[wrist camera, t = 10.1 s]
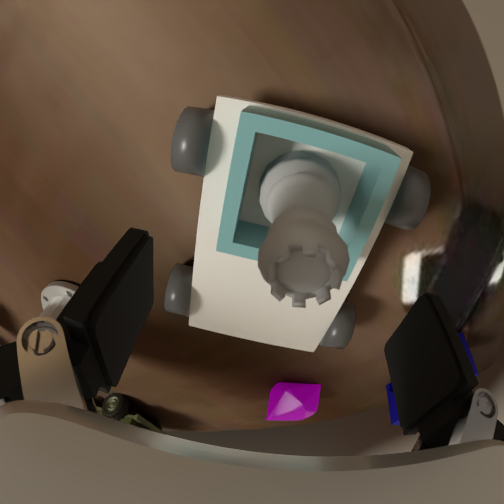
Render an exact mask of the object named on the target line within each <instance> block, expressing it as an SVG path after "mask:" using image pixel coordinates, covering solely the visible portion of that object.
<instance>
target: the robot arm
mask: <svg viewBox="0 0 504 504" xmlns="http://www.w3.org/2000/svg"><path fill="white" fill-rule="evenodd" d="M153 300H154V290H153V237H150V236H149V234H148V232H147V231H144V230H140V229H136V228H130V229H129V230H128V231H127V232H126V233H125V234H124V236H123V237H122V238H121V239H120V240H119V242H118V243H117V244H116V245H115V247H114V248H113V249H112V250H111V252H110V253H109V254H108V255H107V257H106V258H105V259H104V260H103V262H98V263H97V264H96V265H95V266H94V268H93V269H92V270H91V272H90V273H89V274H88V276H87V277H86V278H85V280H84V281H83V282H82V284H81V285H80V286H76V285H74V284H71V283H68V282H64V281H54V282H51V283H49V284H48V285H47V286H46V287H45V289H44V290H43V291H42V294H41V302H42V306H43V309H44V311H43V312H42V313H41V315H40V316H39V317H36V318H34V319H31V320H29V321H28V322H27V323H25V324H24V325H23V326H22V328H21V329H20V331H19V333H18V335H17V341H16V342H13V343H10V344H6V345H3V346H0V504H504V425H503V424H502V423H501V422H500V421H499V420H497V415H498V406H497V402H496V400H495V398H494V396H493V395H492V394H491V393H490V392H489V391H488V390H486V389H483V388H480V389H477V390H476V391H475V392H474V393H473V392H472V389H473V388H474V387H475V386H476V385H478V381H477V378H476V375H475V373H474V370H473V368H472V365H471V363H470V360H469V358H468V355H467V353H466V351H465V348H464V346H463V344H462V341H461V339H460V337H459V335H458V332H457V330H456V328H455V326H454V324H453V322H452V320H451V318H450V316H449V313H448V311H447V309H446V307H445V305H444V304H443V302H442V300H441V298H440V296H438V295H435V294H430V293H425V294H423V295H422V296H420V297H419V298H418V299H417V301H416V302H415V304H414V305H413V307H412V308H411V309H410V311H409V312H408V314H407V315H406V317H405V318H404V319H403V321H402V322H401V324H400V325H399V326H398V328H397V329H396V331H395V332H394V333H393V335H392V336H391V337H390V339H389V340H388V341H387V343H386V344H385V348H384V352H385V356H386V360H387V364H388V369H389V373H390V377H391V382H392V387H393V391H394V396H395V401H396V406H397V412H398V417H399V423H400V426H401V427H402V428H403V433H404V435H411V434H416V433H417V432H419V433H420V436H419V437H418V440H417V441H416V443H415V445H414V447H413V449H412V451H411V452H404V453H396V454H386V455H372V456H353V457H352V456H351V457H315V456H314V457H311V456H293V455H279V454H269V453H259V452H251V451H243V450H237V449H230V448H224V447H219V446H213V445H208V444H203V443H198V442H194V441H189V440H185V439H181V438H177V437H173V436H168V435H165V434H161V433H157V432H154V431H150V430H147V429H143V428H140V427H137V426H133V425H130V424H127V423H124V422H121V421H118V420H115V419H112V418H108V417H105V416H102V415H99V413H98V410H97V407H96V405H95V402H94V399H93V398H95V397H96V395H97V393H98V390H100V391H102V392H105V393H109V391H110V389H111V386H113V387H116V386H117V384H118V382H119V380H120V378H121V375H122V373H123V370H124V368H125V366H126V363H127V361H128V359H129V356H130V354H131V352H132V350H133V347H134V345H135V343H136V341H137V338H138V336H139V334H140V332H141V330H142V327H143V325H144V323H145V321H146V319H147V317H148V314H149V312H150V310H151V308H152V305H153Z"/></svg>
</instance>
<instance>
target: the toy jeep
mask: <svg viewBox="0 0 504 504" xmlns="http://www.w3.org/2000/svg"><path fill="white" fill-rule="evenodd" d="M102 405H103V407H97V410H98V413H99V415H102V416H105V417H108V418H112V419H115V420H118V421H121V422H124V423H127V424H130V425H133V426H137V427H140V428H143V429H147V430H150V431H154V432H157V433H161V434H165V435H166V433H164V432H163V431H162V430H161V429H162V427H161V425H160V424H159V423H158V422H157V421H156V420H154V419H152V418H151V419H150V418H148V419H147V418H145V419H144V418H143V417H141V416H140V415H139V414H136V415H128V414H126V412H127V413H128V409H129V406H128V405H129V403H128V400H127V399H126V397H124V396H123V395H121V394H120V393H118V394H117V393H112V395H111V394H110V395H109V397H106V400H104V403H102Z"/></svg>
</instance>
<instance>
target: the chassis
mask: <svg viewBox="0 0 504 504" xmlns="http://www.w3.org/2000/svg"><path fill="white" fill-rule="evenodd" d="M294 151H300V152H309V153H314V154H315V155H317V156H319V157H321V158H323V159H324V160H326V161H328V163H329V164H330V165H331V167H332V168H333V169H334V170H335V172H336V173H337V176H338V180H339V184H340V190H341V194H342V195H341V200H340V206H339V210H338V212H337V214H336V215H335V217H334V218H333V220H332V222H333V223H334V224H335V226H336V229H337V233H338V235H339V236H340V237H341V238H342V240H343V241H344V242H345V243H346V245H347V248H348V253H349V258H350V262H349V265H348V269H347V272H346V275H345V276H344V277H343V280H342V283H341V286H340V290H338V289H334V288H333V289H331V290H330V293H331V300H329V301H327V302H325V303H323V304H321V305H319V304H318V302H317V301H316V297H314V298H309V299H306V308H299V307H292V298H291V297H289V296H286V295H285V298H284V299H282V300H281V301H280V302H279V301H278V300H277V299H276V298H275V297H274V296H273V295H272V294H271V286H270V285H269V284H268V283H266V281H265V280H264V279H263V277H262V275H261V272H260V270H259V268H258V252H259V249H260V247H261V246H262V244H263V242H264V241H265V239H266V237H267V236H268V230H269V228H270V226H271V225H272V223H271V222H270V221H269V220H268V219H267V218H266V217H265V215H264V213H263V210H262V207H261V205H260V202H259V186H260V178H261V176H262V174H263V172H264V170H265V168H266V167H267V165H268V164H270V163H271V162H272V161H273V160H275V159H276V158H277V157H278V156H280V155H283V154H287V153H291V152H294ZM412 155H413V152H412V151H411V150H410V149H408V148H407V147H405V146H402V145H400V144H397V143H395V142H392V141H390V140H387V139H385V138H382V137H379V136H377V135H374V134H371V133H368V132H366V131H363V130H360V129H357V128H354V127H351V126H348V125H345V124H342V123H339V122H336V121H333V120H329V119H326V118H323V117H319V116H316V115H312V114H309V113H305V112H301V111H297V110H293V109H289V108H285V107H281V106H277V105H273V104H268V103H264V102H259V101H254V100H249V99H244V98H238V97H233V96H227V95H219V96H217V100H216V105H215V110H210V109H204V108H197V107H190V106H189V107H186V108H185V109H184V111H183V112H182V113H181V115H180V117H179V119H178V122H177V124H176V127H175V131H174V134H173V139H172V146H171V164H172V168H173V170H174V171H177V172H182V173H187V174H192V175H197V176H202V177H204V181H203V188H202V196H201V203H200V211H199V220H198V228H197V237H196V246H195V256H194V266H193V267H191V266H187V265H183V264H179V263H177V264H176V265H175V266H174V268H173V270H172V272H171V275H170V277H169V281H168V284H167V288H166V293H165V303H164V305H165V310H166V311H168V312H171V313H175V314H178V315H182V316H186V317H189V326H193V327H197V328H201V329H205V330H209V331H213V332H217V333H221V334H225V335H230V336H234V337H238V338H243V339H247V340H252V341H257V342H261V343H266V344H271V345H276V346H281V347H287V348H292V349H298V350H303V351H309V352H314V351H315V349H316V348H317V346H318V345H320V346H325V347H331V348H337V349H343V348H345V347H346V346H347V345H348V343H349V342H350V340H351V337H352V335H353V332H354V328H355V321H356V311H355V307H354V305H353V304H352V303H349V302H345V301H344V300H345V299H346V297H347V295H348V293H349V291H350V290H351V288H352V286H353V284H354V282H355V280H356V278H357V276H358V275H359V273H360V271H361V269H362V267H363V265H364V263H365V261H366V259H367V257H368V255H369V253H370V251H371V249H372V247H373V245H374V243H375V241H376V239H377V237H378V235H379V232H380V230H381V228H382V226H383V224H384V223H386V224H389V225H392V226H395V227H398V228H401V229H404V230H412V229H414V228H415V227H416V226H417V225H418V224H419V223H420V222H421V220H422V219H423V217H424V215H425V213H426V211H427V208H428V205H429V200H430V194H431V186H430V180H429V177H428V175H427V174H426V173H425V172H424V171H422V170H420V169H417V168H415V167H413V166H410V165H409V163H410V160H411V157H412Z"/></svg>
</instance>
